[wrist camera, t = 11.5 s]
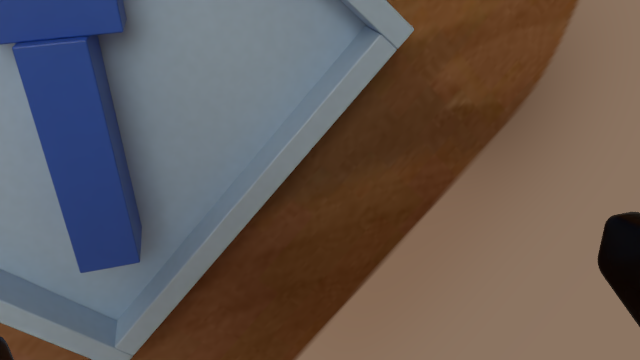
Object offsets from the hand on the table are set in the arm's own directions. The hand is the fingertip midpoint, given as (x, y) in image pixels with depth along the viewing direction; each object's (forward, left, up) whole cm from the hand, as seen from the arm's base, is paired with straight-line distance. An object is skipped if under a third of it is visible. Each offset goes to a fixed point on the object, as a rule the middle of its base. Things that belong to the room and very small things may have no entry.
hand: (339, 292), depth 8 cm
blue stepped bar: (+4, +3, -11) cm, 12 cm away
